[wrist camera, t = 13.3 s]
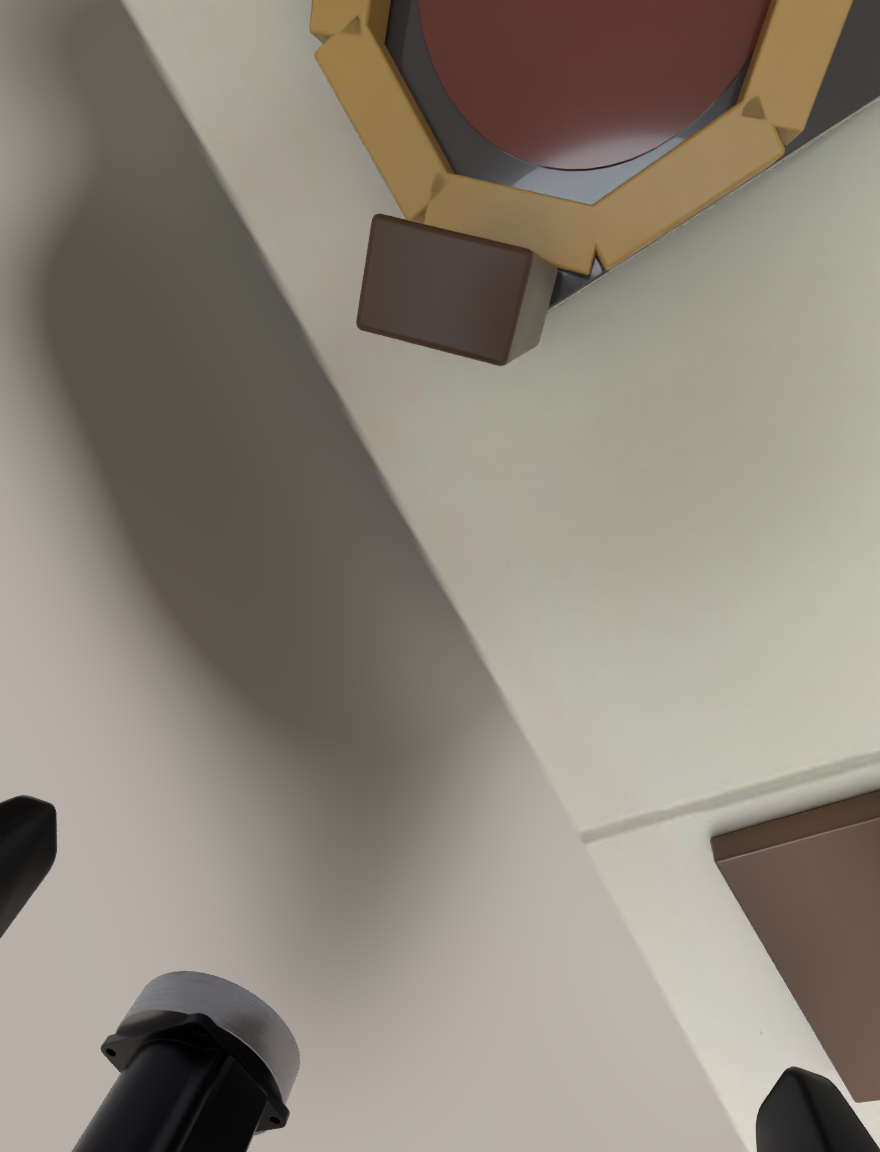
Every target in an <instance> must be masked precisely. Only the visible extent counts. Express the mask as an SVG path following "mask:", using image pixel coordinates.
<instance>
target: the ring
mask: <svg viewBox="0 0 880 1152" xmlns="http://www.w3.org/2000/svg"><path fill="white" fill-rule="evenodd" d="M852 2H853V0H771V2H770V5H769V8H768V11H767V14H766V17H765V20H764V23H763V26H762V29H761V32H760V35H759V38H758V41H757V44H756V46H755V49H754V52H753V55H752V58H751V61H750V64H749V67H748V70H747V73H746V76H745V79H744V82H743V85H742V88H741V91H740V94H739V97H738V99H737V102H736V105H735V106H733V107H732V108H730V109H729V110H727V111H726V112H725V113H723V114H722V115H720V116H719V117H717V118H716V119H714V120H713V121H712V122H710V123H709V124H707V125H706V126H704V127H703V128H702V129H700V130H699V131H697V132H696V133H694V134H693V135H691V136H690V137H689V138H687V139H686V140H684V141H683V142H681V143H680V144H679V145H677V146H676V147H674V148H673V149H671V150H670V151H669V152H667V153H666V154H664V155H663V156H661V157H660V158H658V159H657V160H656V161H654V162H653V163H651V164H650V165H648V166H647V167H646V168H644V169H643V170H641V171H640V172H638V173H637V174H635V175H634V176H633V177H631V178H630V179H628V180H627V181H625V182H624V183H623V184H621V185H620V186H618V187H617V188H615V189H614V190H613V191H611V192H610V193H608V194H607V195H605V196H604V197H602V198H601V199H600V200H598V201H597V202H595V203H594V204H592V205H590V204H586V203H581V202H577V201H573V200H568V199H564V198H559V197H555V196H550V195H546V194H541V193H537V192H533V191H528V190H524V189H519V188H515V187H510V186H506V185H501V184H497V183H493V182H488V181H484V180H479V179H475V178H470V177H466V176H461V175H457V174H455V173H454V172H453V170H452V168H451V166H450V164H449V162H448V161H447V159H446V157H445V155H444V153H443V151H442V149H441V148H440V146H439V144H438V142H437V140H436V138H435V136H434V135H433V133H432V131H431V129H430V127H429V125H428V123H427V122H426V120H425V118H424V116H423V114H422V112H421V111H420V109H419V107H418V105H417V103H416V101H415V99H414V98H413V96H412V94H411V92H410V90H409V88H408V86H407V85H406V83H405V81H404V79H403V77H402V75H401V74H400V72H399V70H398V68H397V66H396V64H395V62H394V61H393V59H392V57H391V55H390V53H389V51H388V49H387V48H386V46H385V37H386V30H387V23H388V17H389V10H390V3H391V0H313V1H312V11H311V20H310V31H311V33H312V34H313V35H314V36H315V37H317V38H318V39H319V40H320V41H321V42H322V43H323V45H322V46H321V47H320V48H319V49H318V50H317V51H316V52H315V54H314V55H315V59H316V61H317V62H318V64H319V66H320V68H321V69H322V71H323V73H324V75H325V76H326V78H327V80H328V82H329V84H330V85H331V87H332V89H333V91H334V92H335V94H336V96H337V98H338V100H339V101H340V103H341V105H342V107H343V108H344V110H345V112H346V114H347V115H348V117H349V119H350V121H351V123H352V124H353V126H354V128H355V130H356V131H357V133H358V135H359V137H360V138H361V140H362V142H363V144H364V146H365V147H366V149H367V151H368V153H369V154H370V156H371V158H372V160H373V161H374V163H375V165H376V167H377V169H378V170H379V172H380V174H381V176H382V177H383V179H384V181H385V183H386V185H387V186H388V188H389V190H390V192H391V193H392V195H393V197H394V199H395V200H396V202H397V204H398V206H399V208H400V209H401V211H402V213H403V215H404V216H405V218H406V220H405V219H400V218H396V217H392V216H388V215H384V214H376V215H374V217H373V219H372V223H371V230H370V236H369V243H368V249H367V256H366V262H365V269H364V275H363V281H362V288H361V294H360V301H359V307H358V314H357V320H356V323H357V327H358V328H359V329H361V330H363V331H367V332H371V333H375V334H378V335H382V336H386V337H390V338H394V339H398V340H402V341H405V342H409V343H413V344H417V345H421V346H425V347H428V348H432V349H436V350H440V351H444V352H448V353H452V354H455V355H459V356H463V357H467V358H471V359H475V360H479V361H482V362H486V363H490V364H494V365H498V366H504V365H506V364H508V363H509V362H511V361H513V360H514V359H516V358H517V357H519V356H521V355H522V354H524V353H525V352H527V351H529V350H530V349H532V348H534V347H535V346H537V344H538V343H539V340H540V336H541V332H542V329H543V325H544V321H545V318H546V314H547V310H548V306H549V303H550V299H551V295H552V291H553V288H554V284H555V280H556V277H557V273H558V269H557V268H560V269H564V270H569V271H573V272H577V273H581V274H585V275H589V274H590V272H591V269H592V265H593V262H594V258H595V255H596V254H597V256H598V258H599V260H600V262H601V264H602V266H603V268H604V269H605V270H610V269H612V268H613V267H615V266H616V265H618V264H620V263H621V262H623V261H624V260H626V259H627V258H629V257H630V256H632V255H633V254H635V253H637V252H638V251H640V250H641V249H643V248H644V247H646V246H647V245H649V244H650V243H652V242H653V241H655V240H657V239H658V238H660V237H661V236H663V235H664V234H666V233H667V232H669V231H670V230H672V229H674V228H675V227H677V226H678V225H680V224H681V223H683V222H684V221H686V220H687V219H689V218H691V217H692V216H694V215H695V214H697V213H698V212H700V211H701V210H703V209H704V208H706V207H708V206H709V205H711V204H712V203H714V202H715V201H717V200H718V199H720V198H721V197H723V196H724V195H726V194H728V193H729V192H731V191H732V190H734V189H735V188H737V187H738V186H740V185H741V184H743V183H745V182H746V181H748V180H749V179H751V178H752V177H754V176H755V175H757V174H758V173H760V172H762V171H763V170H765V169H766V168H768V167H769V166H771V165H772V164H773V163H774V162H775V161H776V160H778V159H779V158H780V157H781V156H782V155H783V154H784V153H785V148H784V145H788V144H789V143H790V142H791V141H792V140H793V139H794V138H796V137H797V136H798V135H799V134H800V133H801V132H802V131H803V130H804V128H805V125H806V123H807V120H808V117H809V115H810V112H811V109H812V107H813V104H814V102H815V99H816V96H817V94H818V91H819V88H820V86H821V83H822V81H823V78H824V75H825V73H826V70H827V67H828V65H829V62H830V60H831V57H832V54H833V52H834V49H835V46H836V44H837V41H838V39H839V36H840V33H841V31H842V28H843V25H844V23H845V20H846V18H847V15H848V12H849V10H850V7H851V4H852Z"/></svg>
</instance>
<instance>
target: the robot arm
mask: <svg viewBox="0 0 880 1152" xmlns="http://www.w3.org/2000/svg"><path fill="white" fill-rule="evenodd" d="M56 853H57V822H56V809H55V807H54V806H53V805H52V804H51V803H48V802H46V801H43V800H40V799H37V798H35V797H32V796H27V795H21V796H17V797H14V798H11V799H8V800H6V801H3V802H1V803H0V938H1V937H2V935H3V934H4V933H5V931H6V930H7V928H8V927H9V926H10V924H11V923H12V922H13V920H14V919H15V918H16V916H17V915H18V913H19V912H20V911H21V909H22V908H23V907H24V905H25V904H26V902H27V901H28V899H29V898H30V897H31V896H32V894H33V893H34V891H35V890H36V889H37V887H38V886H39V885H40V883H41V882H42V881H43V879H44V878H45V876H46V875H47V874H48V872H49V871H50V869H51V867H52V865H53V863H54V861H55V857H56ZM101 1051H102V1053H103V1054H104V1055H105V1056H106V1057H107V1058H108V1060H109V1061H110V1062H111V1063H112V1064H113V1065H114V1066H115V1067H116V1068H117V1069H118V1071H119V1072H121V1074H120V1076H119V1077H118V1079H117V1080H116V1082H115V1083H114V1085H113V1087H112V1088H111V1090H110V1092H109V1093H108V1095H107V1096H106V1098H105V1099H104V1101H103V1103H102V1104H101V1106H100V1108H99V1109H98V1111H97V1112H96V1114H95V1115H94V1117H93V1119H92V1120H91V1122H90V1123H89V1125H88V1126H87V1128H86V1130H85V1131H84V1133H83V1134H82V1136H81V1138H80V1139H79V1141H78V1142H77V1144H76V1145H75V1147H74V1149H73V1150H72V1152H247V1150H248V1148H249V1145H250V1142H251V1140H252V1138H253V1136H254V1133H255V1132H259V1131H265V1130H272V1129H278V1128H282V1127H284V1126H285V1125H286V1123H287V1120H288V1117H289V1115H290V1112H289V1110H288V1108H287V1107H286V1106H285V1105H284V1104H283V1102H282V1101H281V1100H280V1099H279V1098H278V1096H277V1095H276V1094H275V1093H274V1092H273V1091H272V1089H271V1088H270V1087H269V1086H268V1085H267V1084H266V1082H265V1081H264V1080H263V1079H262V1078H261V1076H260V1075H259V1074H258V1073H257V1072H256V1071H255V1069H254V1068H253V1067H252V1066H251V1065H250V1064H249V1062H248V1061H247V1060H246V1059H245V1058H244V1056H243V1055H242V1054H241V1053H240V1052H239V1051H238V1049H237V1048H236V1047H235V1046H234V1045H233V1044H232V1042H231V1041H230V1040H229V1039H228V1038H227V1036H226V1035H225V1034H224V1033H223V1032H222V1031H221V1029H220V1028H219V1027H218V1026H217V1025H216V1024H215V1022H214V1021H213V1020H212V1019H211V1018H210V1017H209V1016H207V1015H206V1014H203V1013H193V1014H190V1015H186V1016H182V1017H178V1018H175V1019H171V1020H167V1021H163V1022H159V1023H156V1024H152V1025H148V1026H144V1027H140V1028H137V1029H133V1030H129V1031H125V1032H121V1033H118V1034H114V1035H110V1036H108V1037H107V1039H106V1040H105V1042H104V1043H103V1045H102V1046H101ZM756 1144H757V1152H880V1149H879V1147H878V1146H877V1144H876V1143H875V1141H874V1140H873V1138H872V1137H871V1136H870V1134H869V1133H868V1131H867V1130H866V1128H865V1127H864V1125H863V1124H862V1123H861V1121H860V1120H859V1118H858V1117H857V1115H856V1114H855V1112H854V1111H853V1110H852V1108H851V1107H850V1105H849V1104H848V1102H847V1101H846V1099H845V1098H844V1097H843V1095H842V1094H841V1092H840V1091H839V1090H838V1088H837V1087H836V1086H835V1085H834V1084H833V1083H832V1082H831V1081H830V1080H829V1079H827V1078H825V1077H823V1076H821V1075H818V1074H815V1073H812V1072H810V1071H807V1070H804V1069H801V1068H798V1067H790V1068H787V1069H786V1070H785V1071H784V1072H783V1074H782V1075H781V1077H780V1078H779V1080H778V1081H777V1083H776V1084H775V1085H774V1087H773V1088H772V1090H771V1091H770V1093H769V1094H768V1096H767V1097H766V1099H765V1100H764V1102H763V1103H762V1105H761V1107H760V1109H759V1112H758V1115H757V1120H756Z"/></svg>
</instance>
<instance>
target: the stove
mask: <svg viewBox="0 0 880 1152" xmlns="http://www.w3.org/2000/svg"><path fill="white" fill-rule="evenodd" d="M312 1H313V0H312ZM770 2H771V0H391V3H390V10H389V17H388V23H387V30H386V37H385V46H386V48H387V49H388V51H389V53H390V55H391V57H392V59H393V61H394V62H395V64H396V66H397V68H398V70H399V72H400V74H401V75H402V77H403V79H404V81H405V83H406V85H407V86H408V88H409V90H410V92H411V94H412V96H413V98H414V99H415V101H416V103H417V105H418V107H419V109H420V111H421V112H422V114H423V116H424V118H425V120H426V122H427V123H428V125H429V127H430V129H431V131H432V133H433V135H434V136H435V138H436V140H437V142H438V144H439V146H440V148H441V149H442V151H443V153H444V155H445V157H446V159H447V161H448V162H449V164H450V166H451V168H452V170H453V172H454V173H455V174H457V175H461V176H466V177H470V178H475V179H479V180H484V181H488V182H493V183H497V184H501V185H506V186H510V187H515V188H519V189H524V190H528V191H533V192H537V193H541V194H546V195H550V196H555V197H559V198H564V199H568V200H573V201H577V202H581V203H586V204H590V205H592V204H594V203H595V202H597V201H598V200H600V199H601V198H602V197H604V196H605V195H607V194H608V193H610V192H611V191H613V190H614V189H615V188H617V187H618V186H620V185H621V184H623V183H624V182H625V181H627V180H628V179H630V178H631V177H633V176H634V175H635V174H637V173H638V172H640V171H641V170H643V169H644V168H646V167H647V166H648V165H650V164H651V163H653V162H654V161H656V160H657V159H658V158H660V157H661V156H663V155H664V154H666V153H667V152H669V151H670V150H671V149H673V148H674V147H676V146H677V145H679V144H680V143H681V142H683V141H684V140H686V139H687V138H689V137H690V136H691V135H693V134H694V133H696V132H697V131H699V130H700V129H702V128H703V127H704V126H706V125H707V124H709V123H710V122H712V121H713V120H714V119H716V118H717V117H719V116H720V115H722V114H723V113H725V112H726V111H727V110H729V109H730V108H732V107H733V106H735V105H736V102H737V99H738V97H739V94H740V91H741V88H742V85H743V82H744V79H745V76H746V73H747V70H748V67H749V64H750V61H751V58H752V55H753V52H754V49H755V46H756V44H757V41H758V38H759V35H760V32H761V29H762V26H763V23H764V20H765V17H766V14H767V11H768V8H769V5H770ZM878 100H880V0H853V2H852V4H851V7H850V10H849V12H848V15H847V18H846V20H845V23H844V25H843V28H842V31H841V33H840V36H839V39H838V41H837V44H836V46H835V49H834V52H833V54H832V57H831V60H830V62H829V65H828V67H827V70H826V73H825V75H824V78H823V81H822V83H821V86H820V88H819V91H818V94H817V96H816V99H815V102H814V104H813V107H812V109H811V112H810V115H809V117H808V120H807V123H806V125H805V128H804V130H803V131H802V132H801V133H800V134H799V135H798V136H797V137H796V138H794V139H793V140H792V141H791V142H790V143H789V144H788V145H784V148H785V153H784V154H783V155H782V156H781V157H780V158H779V159H778V160H776V161H775V162H774V163H773V164H772V165H771V166H769V167H768V168H766V169H765V170H763V171H762V172H760V173H758V174H757V175H755V176H754V177H752V178H751V179H749V180H748V181H746V182H745V183H743V184H741V185H740V186H738V187H737V188H735V189H734V190H732V191H731V192H729V193H728V194H726V195H724V196H723V197H721V198H720V199H718V200H717V201H715V202H714V203H712V204H711V205H709V206H708V207H706V208H704V209H703V210H701V211H700V212H698V213H697V214H695V215H694V216H692V217H691V218H689V219H687V220H686V221H684V222H683V223H681V224H680V225H678V226H677V227H675V228H674V229H672V230H670V231H669V232H667V233H666V234H664V235H663V236H661V237H660V238H658V239H657V240H655V241H653V242H652V243H650V244H649V245H647V246H646V247H644V248H643V249H641V250H640V251H638V252H637V253H635V254H633V255H632V256H630V257H629V258H627V259H626V260H624V261H623V262H621V263H620V264H618V265H616V266H615V267H613V268H612V269H610V270H605V269H604V268H603V266H602V264H601V262H600V260H599V258H598V256H597V254H596V255H595V258H594V262H593V265H592V269H591V272H590V274H589V275H585V274H581V273H577V272H573V271H569V270H564V269H560V268H557V269H558V273H557V277H556V280H555V284H554V288H553V291H552V295H551V299H550V303H549V306H548V310H547V313H549V312H551V311H552V310H554V309H555V308H557V307H558V306H560V305H561V304H563V303H565V302H566V301H568V300H569V299H571V298H572V297H574V296H575V295H577V294H579V293H580V292H582V291H583V290H585V289H586V288H588V287H589V286H591V285H592V284H594V283H596V282H597V281H599V280H600V279H602V278H603V277H605V276H606V275H608V274H610V273H611V272H613V271H614V270H616V269H617V268H619V267H620V266H622V265H624V264H625V263H627V262H628V261H630V260H631V259H633V258H634V257H636V256H638V255H639V254H641V253H642V252H644V251H645V250H647V249H648V248H650V247H652V246H653V245H655V244H656V243H658V242H659V241H661V240H662V239H664V238H665V237H667V236H669V235H670V234H672V233H673V232H675V231H676V230H678V229H679V228H681V227H683V226H684V225H686V224H687V223H689V222H690V221H692V220H693V219H695V218H697V217H698V216H700V215H701V214H703V213H704V212H706V211H707V210H709V209H711V208H712V207H714V206H715V205H717V204H718V203H720V202H721V201H723V200H725V199H726V198H728V197H729V196H731V195H732V194H734V193H735V192H737V191H739V190H740V189H742V188H743V187H745V186H746V185H748V184H749V183H751V182H752V181H754V180H756V179H757V178H759V177H760V176H762V175H763V174H765V173H766V172H768V171H770V170H771V169H773V168H774V167H776V166H777V165H779V164H780V163H782V162H784V161H785V160H787V159H788V158H790V157H791V156H793V155H794V154H796V153H798V152H799V151H801V150H802V149H804V148H805V147H807V146H808V145H810V144H812V143H813V142H815V141H816V140H818V139H819V138H821V137H822V136H824V135H825V134H827V133H829V132H830V131H832V130H833V129H835V128H836V127H838V126H839V125H841V124H843V123H844V122H846V121H847V120H849V119H850V118H852V117H853V116H855V115H857V114H858V113H860V112H861V111H863V110H864V109H866V108H867V107H869V106H871V105H872V104H874V103H875V102H877V101H878Z"/></svg>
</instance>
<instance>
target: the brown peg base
mask: <svg viewBox="0 0 880 1152" xmlns="http://www.w3.org/2000/svg"><path fill="white" fill-rule="evenodd" d="M710 843H711V847H712V852H713V857H714V862H715V863H716V865H717V867H718V869H719V870H720V872H721V874H722V875H723V877H724V879H725V881H726V882H727V884H728V886H729V887H730V889H731V891H732V893H733V894H734V896H735V898H736V899H737V901H738V903H739V905H740V906H741V908H742V910H743V911H744V913H745V915H746V917H747V918H748V920H749V922H750V923H751V925H752V927H753V928H754V930H755V932H756V934H757V935H758V937H759V939H760V940H761V942H762V944H763V946H764V947H765V949H766V951H767V952H768V954H769V956H770V958H771V959H772V961H773V963H774V964H775V966H776V968H777V970H778V971H779V973H780V975H781V976H782V978H783V980H784V982H785V983H786V985H787V987H788V988H789V990H790V992H791V994H792V995H793V997H794V999H795V1000H796V1002H797V1004H798V1006H799V1007H800V1009H801V1011H802V1012H803V1014H804V1016H805V1017H806V1019H807V1021H808V1023H809V1024H810V1026H811V1028H812V1029H813V1031H814V1033H815V1035H816V1036H817V1038H818V1040H819V1041H820V1043H821V1045H822V1047H823V1048H824V1050H825V1052H826V1053H827V1055H828V1057H829V1059H830V1060H831V1062H832V1064H833V1065H834V1067H835V1069H836V1071H837V1072H838V1074H839V1076H840V1077H841V1079H842V1081H843V1083H844V1084H845V1086H846V1088H847V1089H848V1091H849V1093H850V1094H851V1096H852V1098H853V1100H854V1101H855V1102H856V1103H860V1102H868V1101H876V1100H880V791H876V792H873V793H869V794H866V795H862V796H859V797H855V798H852V799H848V800H845V801H841V802H838V803H834V804H831V805H827V806H824V807H820V808H817V809H813V810H810V811H806V812H803V813H799V814H796V815H792V816H789V817H785V818H782V819H778V820H775V821H771V822H768V823H764V824H761V825H757V826H754V827H750V828H747V829H743V830H740V831H736V832H733V833H729V834H726V835H722V836H719V837H715V838H712V839H711V840H710Z"/></svg>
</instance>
